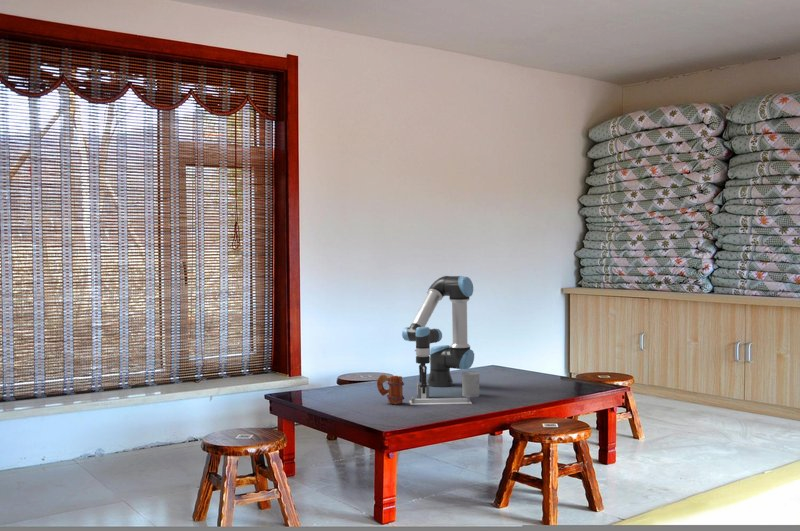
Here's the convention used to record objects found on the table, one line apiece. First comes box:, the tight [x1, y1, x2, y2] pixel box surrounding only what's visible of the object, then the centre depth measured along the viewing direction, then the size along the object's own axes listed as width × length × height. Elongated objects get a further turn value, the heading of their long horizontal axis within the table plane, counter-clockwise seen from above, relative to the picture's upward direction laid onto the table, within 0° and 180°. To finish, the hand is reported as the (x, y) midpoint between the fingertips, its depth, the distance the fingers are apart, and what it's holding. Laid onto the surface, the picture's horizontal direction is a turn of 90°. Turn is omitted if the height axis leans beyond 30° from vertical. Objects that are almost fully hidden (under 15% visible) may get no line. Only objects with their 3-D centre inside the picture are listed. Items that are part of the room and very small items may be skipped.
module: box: [416, 381, 430, 399], centre depth 418 cm, size 7×6×8 cm
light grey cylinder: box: [461, 371, 480, 398], centre depth 426 cm, size 10×10×12 cm
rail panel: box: [408, 396, 473, 406], centre depth 406 cm, size 9×32×3 cm, turn 94°
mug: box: [376, 374, 405, 405], centre depth 405 cm, size 15×8×15 cm, turn 73°
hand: (422, 397), depth 418 cm, fingers open, 8 cm apart
